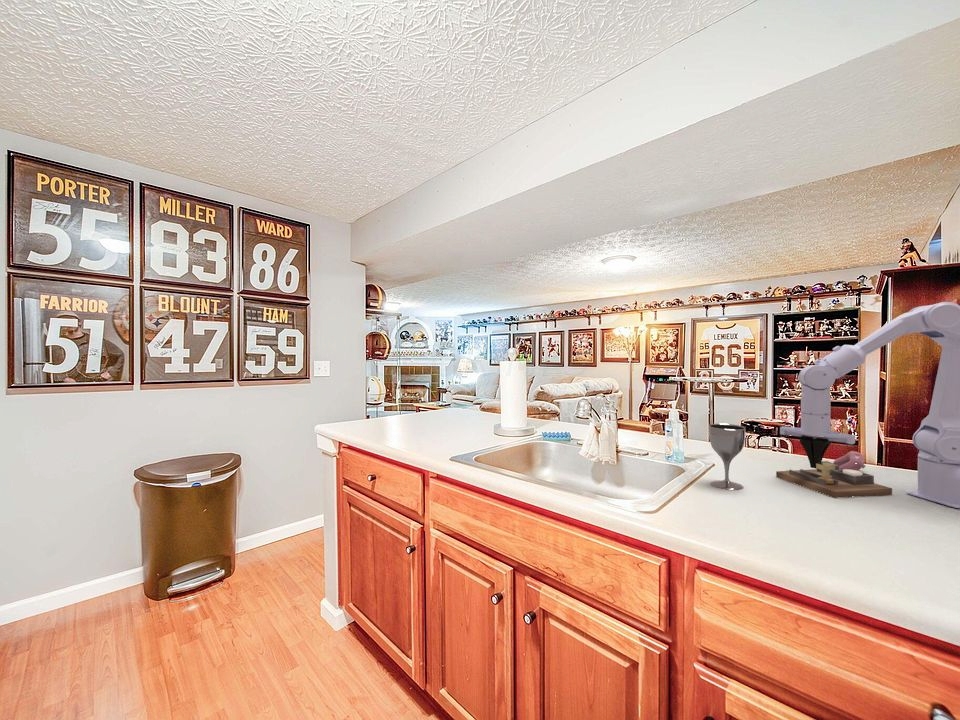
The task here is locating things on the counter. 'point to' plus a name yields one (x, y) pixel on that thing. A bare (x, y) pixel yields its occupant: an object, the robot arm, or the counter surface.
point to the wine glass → (727, 449)
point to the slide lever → (825, 471)
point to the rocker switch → (831, 463)
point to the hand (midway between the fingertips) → (815, 467)
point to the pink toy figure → (850, 461)
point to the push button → (852, 472)
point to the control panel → (836, 483)
